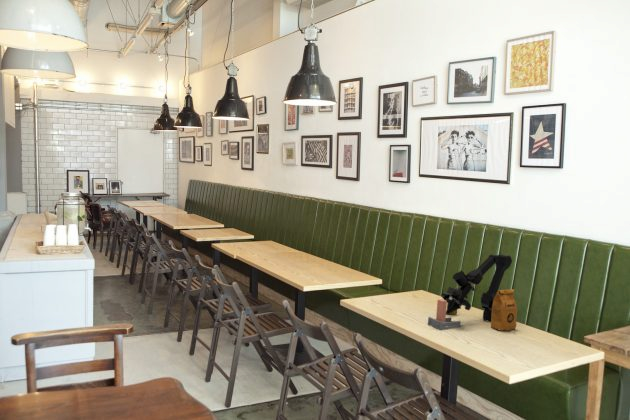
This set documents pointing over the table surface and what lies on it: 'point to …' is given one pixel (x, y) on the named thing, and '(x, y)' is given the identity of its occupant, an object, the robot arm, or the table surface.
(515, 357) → the table surface
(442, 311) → the tall terracotta column
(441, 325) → the track housing
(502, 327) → the coffee package
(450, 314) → the condiment
